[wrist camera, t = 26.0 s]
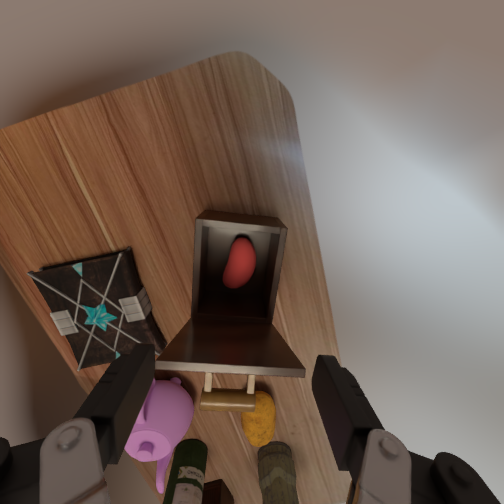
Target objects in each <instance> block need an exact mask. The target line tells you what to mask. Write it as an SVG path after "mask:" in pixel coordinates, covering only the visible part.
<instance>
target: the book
mask: <svg viewBox="0 0 504 504" xmlns="http://www.w3.org/2000/svg"><path fill="white" fill-rule="evenodd" d="M130 249H131V247H128V248H127V249H126V250H123V251H119V252H115V253H110V254H106V255H101V256H97V257H92V258H87V259H83V260H78V261H73V262H68V263H64V264H59V265H54V266H49V267H42V268H40V269H39V271H40V272H33V271H30V272H28V273H27V275H29V276H30V277H31V278H32V279H33V281H34V283H35V284H36V286H37V287H38V289H39V291H40V292H41V294H42V296H43V297H44V299H45V300H46V302H47V304H48V306H49V307H50V309H51V311H52V312H51V313H50V315H51V317H52V319H53V321H54V323H55V325H56V326H57V328H58V330H59V332H60V334H61V336H62V335H65V336H66V338H67V339H68V341H69V343H70V345H71V348H72V350H73V353H74V355H75V358H76V360H77V363H78V365H79V367H78V369H77V371H80V369H82V368H87V367H92V366H96V365H101V364H106V363H111V362H113V361H114V360H115V359H117V358H118V357H119V356H120V355H122V354H130V353H131V351H132V349H133V348H134V346H135V345H136V344H137V343H150V344H154V345H155V355H159V356H160V354H161V353H162V352H163V351H164V349H165V347H166V345H167V343H166V342H164V341H163V339H162V337H161V335H160V333H159V331H158V330H157V328H156V326H155V324H154V322H153V320H152V317H151V314H150V311H151V310H152V306H151V303H150V300H149V298H148V295H147V292H146V290H145V287H141V286H140V283H139V280H138V277H137V274H136V270H135V267H134V263H133V260H132V256H131V253H130Z"/></svg>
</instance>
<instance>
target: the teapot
mask: <svg viewBox="0 0 504 504" xmlns="http://www.w3.org/2000/svg"><path fill="white" fill-rule="evenodd" d="M180 384H181V380H180V379H179V378H176V377H174V378H171V379H170V381H168V380H155V378H154V379H153V382H152V385H151V387H150V389H149V392H148V394H147V396H146V399H145V401H144V403H143V406H142V408H141V410H140V413H139V415H138V417H137V420H136V422H135V424H134V427H133V429H132V431H131V434H130V436H129V438H128V441H127V443H126V445H125V450H126V452H127V453H128V454H129V455H130V456H132V457H133V458H135V459H137V460H139V461H142V462H147V461H156V460H157V473H156V486H157V490H158V492H159V493H161V494H162V493H163V492H164V479H165V473H166V470H167V467H168V464H169V461H170V459H171V456H172V453H173V450H174V448H175V446H176V445H177V444H178V443H179V442H180V441H181V439H182V438H183V437H184V435H185V434H186V432H187V430H188V428H189V426H190V424H191V421H192V418H193V414H194V405H193V401H192V399H191V397H190V395H189V394H188V392H187V391H186V390H185V389H184V388H183V387H182V386H180Z"/></svg>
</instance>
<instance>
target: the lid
mask: <svg viewBox="0 0 504 504" xmlns="http://www.w3.org/2000/svg"><path fill="white" fill-rule="evenodd" d="M155 370H174V371H192V372H206V373H205V383H204V387H203V389H202V394H201V402H200V410H207V411H231V412H254V411H255V405H256V393H255V390H254V388H255V376H256V375H264V376H283V377H301V378H305V370H306V369H305V367H304V366H303V365H302V363H301V362H300V361H299V359H298V358H297V357H296V355H295V354H294V353H293V351H292V350H291V348H290V347H289V346H288V344H287V343H286V342H285V340H284V339H283V338H282V336H281V335H280V334H279V332H278V331H277V329H276V328H275V327H274V325H273V324H269V323H256V322H242V321H228V320H215V319H201V318H190V319H189V320H188V322H187V323H186V324H185V325H184V327H183V328H182V329H181V330H180V331H179V333H178V334H177V335H176V336H175V337H174V339H173V340H172V341H171V342H170V343H169V345H168V346H167V347H166V348H165V349H164V351H163V352H162V353H161V354H160V356H159V357H158V358H157V359H156V361H155ZM213 373H228V374H246V375H248V376H247V387H246V390H244V389H224V388H212V381H213Z"/></svg>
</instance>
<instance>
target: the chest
mask: <svg viewBox="0 0 504 504" xmlns="http://www.w3.org/2000/svg"><path fill="white" fill-rule="evenodd" d="M287 229H288V228H287V227H286V226H285V225H284V224H283V223H282V222H281V221H280V220H279V219H278V218H275V217H266V216H256V215H247V214H238V213H229V212H220V211H211V210H204V211H203V212H202V213H201V214H200V215H199V216H198V217H197V218H196V219H195V239H194V262H193V284H192V306H191V318H201V319H215V320H228V321H242V322H256V323H269V324H272V320H273V314H274V308H275V302H276V296H277V290H278V284H279V278H280V272H281V266H282V260H283V253H284V247H285V241H286V235H287ZM240 237H245V238H247V239H248V240H249V241H250V242H251V243H252V245H253V247H254V249H255V252H256V266H255V270H254V273H253V275H252V277H251V278H250V280H249V281H248V282H247V283H246V284H245V285H243V286H241V287H239V288H229V287H226V286H225V285H224V283H223V273H224V270H225V267H226V265H227V263H228V258H229V254H230V250H231V247H232V244H233V242H234V241H235V240H236V239H237V238H240Z"/></svg>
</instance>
